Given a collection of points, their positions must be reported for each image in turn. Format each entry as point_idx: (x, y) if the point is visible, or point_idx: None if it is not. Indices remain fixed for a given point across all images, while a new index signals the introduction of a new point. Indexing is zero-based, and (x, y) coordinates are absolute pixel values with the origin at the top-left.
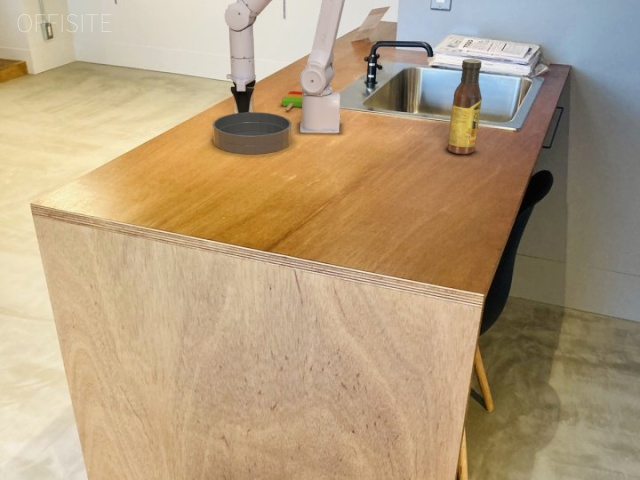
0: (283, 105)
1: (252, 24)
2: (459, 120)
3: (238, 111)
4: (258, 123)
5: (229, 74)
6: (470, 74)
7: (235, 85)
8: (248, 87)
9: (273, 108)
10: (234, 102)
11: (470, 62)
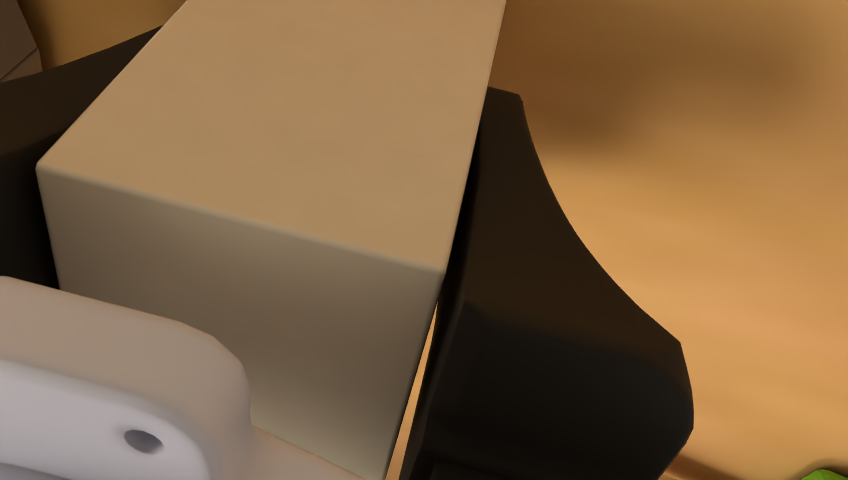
0: (813, 473)
1: None
2: None
3: (152, 30)
4: None
5: (143, 464)
6: None
7: (457, 303)
8: (368, 439)
9: (792, 392)
10: (145, 49)
11: None
